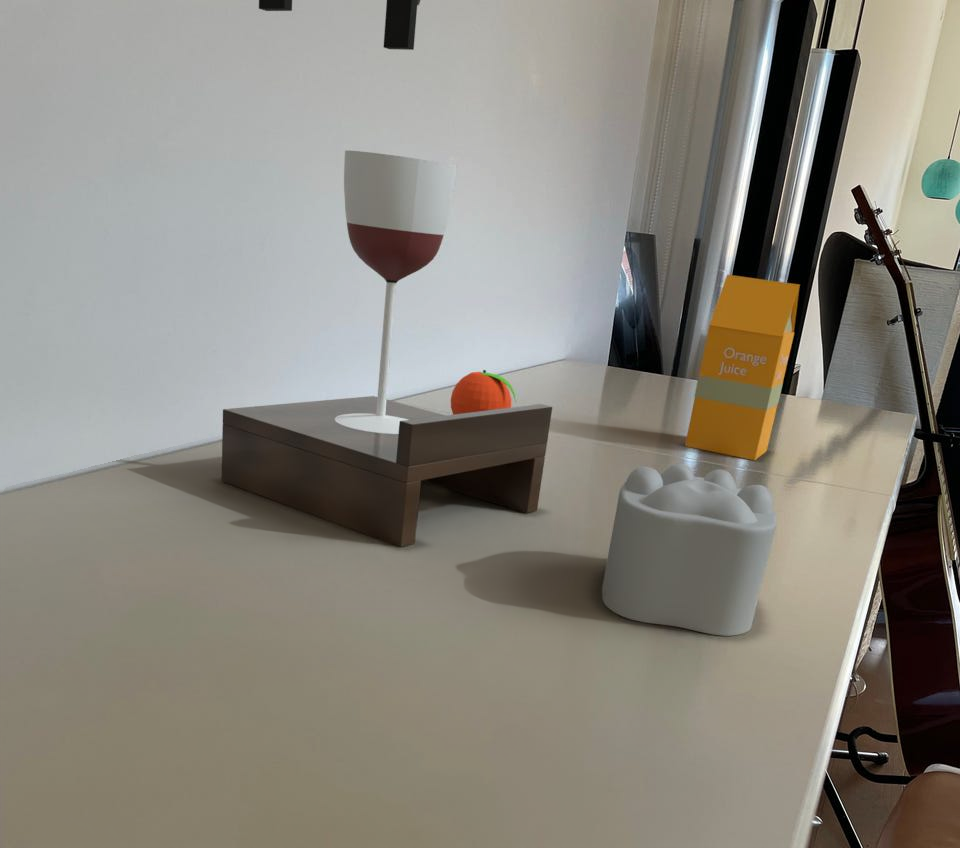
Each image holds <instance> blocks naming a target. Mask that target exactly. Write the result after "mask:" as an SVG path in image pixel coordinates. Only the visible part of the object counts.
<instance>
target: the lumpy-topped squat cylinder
mask: <svg viewBox="0 0 960 848" xmlns="http://www.w3.org/2000/svg"><path fill="white" fill-rule="evenodd" d="M772 495H773V494H772V493H771V492H770V490H769V489H768V488H767V487H766V486H764V485H761V484H752V485H747V486H745V487H743V488H739V487H737V486H736V483H735V480H734V478H733V476H732V474H731V473H730V472H729V471H727V470H724V469H714V470H712V471H709V472H708V473H707V474H706V475H705V476H704V477H701V476H694V471H693V470H692V468H691V467H690V466H689V465H687V464H685V463H674V464H672V465H670V466H669V467H667V468H666V469H665V470H664V471H663V472H662V473H659V472H658V470H656V469H655V468H653V467H650V466H639V467H635V468H634V469H633V470H632V471H630V473H629V474H628V476H627V479H626V481H624V482H623V484H622V485H621V487H620V489H619V493H618V498H617V504H616V510H615V514H614V515H615V516H614V520H613V525H612V526H613V527H612V531H611V536H610V543H609V548H608V555H607V559H606V565H605V570H604V576H603V581H602V588H601V594H602V602H603V603H604V605H605V606H606V607H607V608H608V609H609V610H610V611H612V612H613V613H615V614H616V615H619V616H621V617H623V618H626V619H629V620H632V621H636V622H641V623H647V624H655V625H662V626H671V627H678V628H681V629H686V630H691V631H696V632H700V633H704V634H710V635H715V636H723V637H726V636H727V637H729V636H731V637H732V636H733V637H734V636H739V635H742V634H745V633H747V632H749V631H750V630H751V628H752V626H753V621H754V617H755V614H756V609H757V605H758V602H759V598H760V593H761V589H762V585H763V582H764V577H765V573H766V569H767V565H768V561H769V556H770V553H771V549H772V544H773V540H774V537H775V532H776V528H777V515H776V512H775V511H774V499H773V496H772Z"/></svg>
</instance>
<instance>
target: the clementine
mask: <svg viewBox="0 0 960 848" xmlns="http://www.w3.org/2000/svg"><path fill="white" fill-rule="evenodd" d="M511 393H512V395H513V398H514V401H515V402H517V399H516V392H515V391H514V389H513V386H512V385H511V384H510V383H509V382H508V381H507V379H505V378H504V377H502V376H500V375H498V374H495V373H491V372H487V370H486V369H483V370H482V371H473V372H470V373H468V374H467V375H465V376H463V377H461V378H460V379H459V381H458V382H456V384H455V386H454V388H453V389H452V392H451V395H450V397H451V398H450V409H451V413H452V415H455V414H463V413H471V412H480V411H488V410H496V409H505V408H512V396H511Z"/></svg>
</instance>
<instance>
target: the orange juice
mask: <svg viewBox="0 0 960 848" xmlns="http://www.w3.org/2000/svg"><path fill="white" fill-rule="evenodd" d="M800 286H801V284H798V283H791V282H783V281H777V280H769V279H762V278H755V277H747V276H740V275H734V274H726V276H725V280H724V282H723V285H722V288H721V291H720V294H719V296H718V299H717V302H716V304H715V307H714V311H713V313H712V316H711V319H710V322H709V324H708V330H707V335H706V338H705V339H706V340H705V344H704V350H703V354H702V355H703V356H702V359H701V365H700V369H699V374H698V377H697V382H696V387H695V392H694V399H693V404H692V408H691V414H690V419H689V423H688V429H687V434H686V439H685V444H684V447H688V448H692V449H693V448H694V449H698V450H703V451H707V452H713V453H717V454H722V455H726V456H733V457H736V458H737V457H738V458H742V459H747V460H750V461H756V460H758V458H760V457H761V456H762V455H764V454H765V453H767V451H768V448H769V447H768V446H769V443H770V440H771V439H770V438H771V435H772V430H773V426H774V421H775V417H776V413H777V408H778V405H779V402H780V398H781V393H782V389H783V384H784V378H785V376H786V375H785V374H786V371H787V366H788V361H789V358H790V353H791V350H792V344H793V341H794V336H795V327H796V326H795V325H796V317H797V311H798V310H797V309H798V302H799V295H800V294H799V293H800Z"/></svg>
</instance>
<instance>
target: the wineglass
mask: <svg viewBox="0 0 960 848" xmlns="http://www.w3.org/2000/svg"><path fill="white" fill-rule="evenodd" d="M343 162H344V163H343V165H344V166H343V191H344V193H343V195H344V209H345V211H344V212H345V219H346V221H345V222H346V229H347V235H348V239H349V243H350V246H351V247H352V250H353V252H354V253H355V254H356V256H357V257H358V258H359V259H360V260H361V261H362V262H363V264H365V265H366V266H368V267H369V268H370V269H371V270H373V271H374V272H375V273H377V274H378V275H379V276H380V277H382V278H383V279H384V281H385V282H386V285H385V295H384V296H385V297H384V309H383V322H382V334H381V347H380V359H379V371H378V383H377V384H378V385H377V396H376V397H377V410H376V414H343V415H340V416H337V417H336V418H335V421H336V422H337V423H339V424H341V425H343V426H346V427H350V428H353V429H358V430H363V431H368V432H376V433H387V434H399V423H400V421H404V420H408V419H404V418H399V417H394V416H388V415H385V412H386V400H388V399H387V397H388V386H389V374H390V363H391V349H392V337H393V327H394V326H393V325H394V313H395V301H396V290H397V283H398V282H399V281H401V280H403V279H405V278H406V277H408V276H411V275H412V274H415V273H416V272H419V271H420V270H422V269H423V268H425V267H426V266H428V265H429V264H430V263H431V262H432V261H433V260H434V259H435V257H436V256H437V255H438V252H439V251H440V248H441V245H442V242H443V239H444V235H445V233H446V229H447V225H448V220H449V217H450V212H451V207H452V202H453V201H452V200H453V194H454V189H455V182H456V176H457V166H456V165H454V164H449V163H445V162H439V161H433V160H427V159H421V158H415V157H408V156H401V155H394V154H385V153H380V152H379V153H378V152H369V151H360V150H344V161H343Z"/></svg>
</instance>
